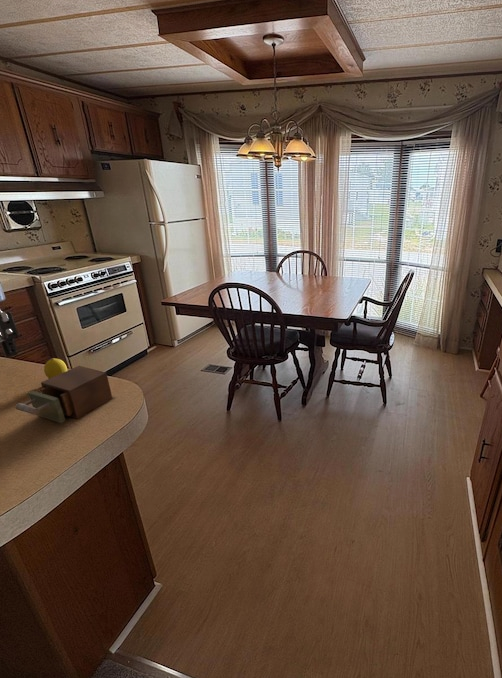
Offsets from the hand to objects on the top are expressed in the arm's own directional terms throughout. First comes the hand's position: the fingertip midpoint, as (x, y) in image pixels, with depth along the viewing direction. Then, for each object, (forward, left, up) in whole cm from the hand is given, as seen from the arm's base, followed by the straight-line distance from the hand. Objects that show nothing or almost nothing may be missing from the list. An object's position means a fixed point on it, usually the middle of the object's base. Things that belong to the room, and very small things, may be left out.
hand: (0, 351), depth 77 cm
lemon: (-10, +24, -22) cm, 34 cm away
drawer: (+3, +6, -21) cm, 22 cm away
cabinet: (+5, +12, -22) cm, 25 cm away
